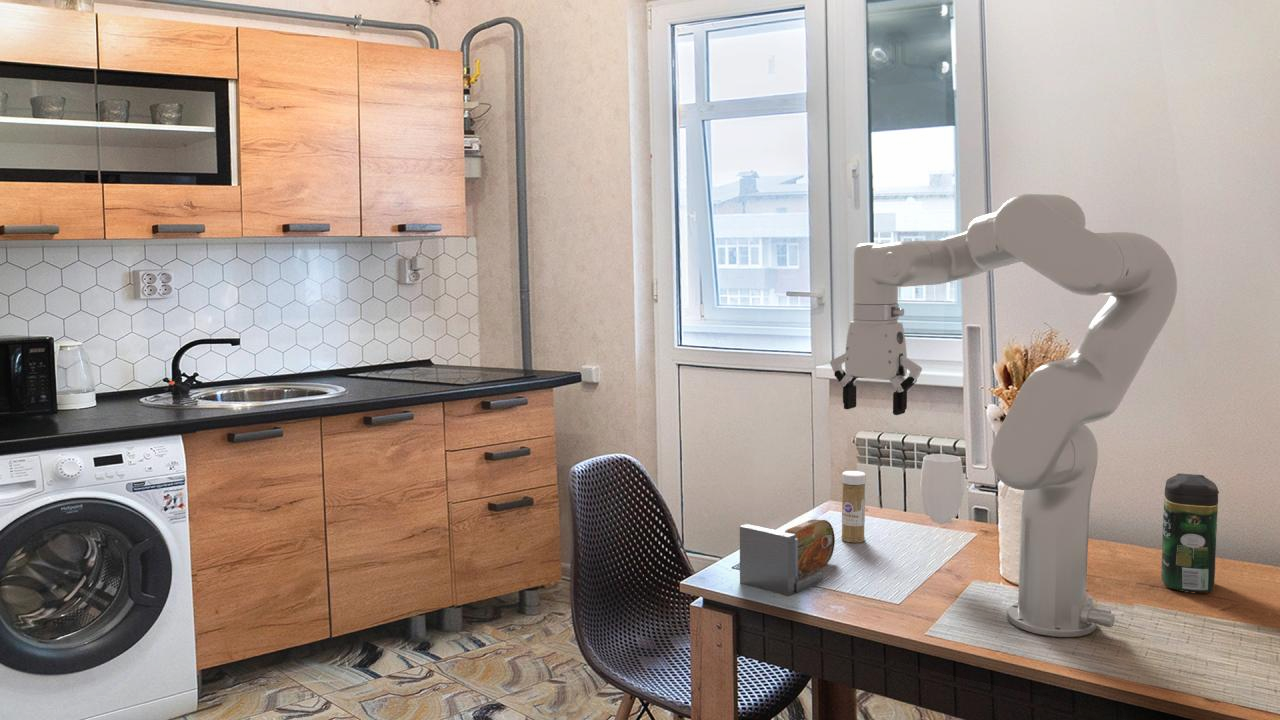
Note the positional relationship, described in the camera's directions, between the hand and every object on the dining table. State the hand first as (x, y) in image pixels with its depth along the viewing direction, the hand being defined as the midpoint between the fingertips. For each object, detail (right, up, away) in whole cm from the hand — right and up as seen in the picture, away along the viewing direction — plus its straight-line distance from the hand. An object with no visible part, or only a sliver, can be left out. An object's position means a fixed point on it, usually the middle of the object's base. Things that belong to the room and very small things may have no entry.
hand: (874, 411), depth 179 cm
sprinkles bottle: (0, -26, +20) cm, 33 cm away
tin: (-12, -29, +3) cm, 31 cm away
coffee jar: (+50, -29, -8) cm, 59 cm away
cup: (+11, -29, -1) cm, 31 cm away
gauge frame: (-17, -29, -4) cm, 34 cm away
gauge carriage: (-18, -28, -3) cm, 33 cm away
